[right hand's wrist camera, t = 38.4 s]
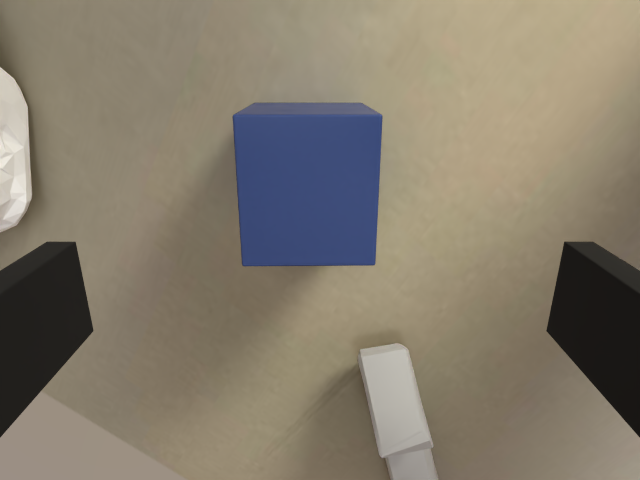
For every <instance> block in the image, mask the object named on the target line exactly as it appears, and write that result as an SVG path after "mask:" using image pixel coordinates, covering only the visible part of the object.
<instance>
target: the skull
mask: <svg viewBox="0 0 640 480" xmlns="http://www.w3.org/2000/svg"><path fill="white" fill-rule="evenodd" d="M31 198H32V185H31V170H30V149H29V126H28V106H27V104H26V101H25V99H24V97H23V94H22V92H21V89H20V88H19V86H18V84H17V83H16V81H15V79H14V78H13V77H11V76H10V75H9V74H8V73H7V72H6V71H4V70H3V69H2V68H1V67H0V232H3V231H5V230H7V229H9V228H12V227H14V226H16V225H17V224H18V223H19V221H20V220H21V218H22V217H23V216H24V214H25V213H26V211H27V209H28V207H29V204H30V201H31Z"/></svg>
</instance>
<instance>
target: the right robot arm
mask: <svg viewBox="0 0 640 480" xmlns="http://www.w3.org/2000/svg"><path fill="white" fill-rule="evenodd" d="M92 332H93V326H92V321H91V316H90V311H89V306H88V301H87V296H86V291H85V286H84V281H83V277H82V272H81V267H80V262H79V257H78V252H77V247H76V242H46V243H44V244H43V245H41V246H39V247H38V248H36V249H35V250H33V251H31V252H30V253H28V254H27V255H25V256H23V257H22V258H20V259H19V260H17V261H15V262H14V263H12V264H11V265H9V266H7V267H6V268H4V269H2V270H1V271H0V437H1V436H2V435H3V434H4V432H5V431H6V430H7V429H8V428H9V427H10V426H11V425H12V423H13V422H14V421H15V420H16V419H17V418H18V417H19V415H20V414H21V413H22V412H23V411H24V410H25V409H26V407H27V406H28V405H29V404H30V403H31V402H32V401H33V399H34V398H35V397H36V396H37V395H38V394H39V393H40V391H41V390H42V389H43V388H44V387H45V386H46V385H47V383H48V382H49V381H50V380H51V379H52V378H53V377H54V375H55V374H56V373H57V372H58V371H59V370H60V369H61V367H62V366H63V365H64V364H65V363H66V362H67V361H68V359H69V358H70V357H71V356H72V355H73V354H74V353H75V351H76V350H77V349H78V348H79V347H80V346H81V345H82V343H83V342H84V341H85V340H86V339H87V338H88V337H89V335H90V334H91V333H92ZM547 332H548V333H549V334H550V335H551V337H552V338H553V339H554V340H555V341H556V342H557V343H558V345H559V346H560V347H561V348H562V349H563V350H564V351H565V353H566V354H567V355H568V356H569V357H570V358H571V359H572V361H573V362H574V363H575V364H576V365H577V366H578V367H579V369H580V370H581V371H582V372H583V373H584V374H585V375H586V377H587V378H588V379H589V380H590V381H591V382H592V383H593V385H594V386H595V387H596V388H597V389H598V390H599V391H600V393H601V394H602V395H603V396H604V397H605V398H606V399H607V401H608V402H609V403H610V404H611V405H612V406H613V407H614V409H615V410H616V411H617V412H618V413H619V414H620V415H621V417H622V418H623V419H624V420H625V421H626V422H627V423H628V425H629V426H630V427H631V428H632V429H633V430H634V431H635V433H636V434H637V435H638V436H639V437H640V271H639V270H638V269H636V268H634V267H633V266H631V265H629V264H628V263H626V262H625V261H623V260H621V259H620V258H618V257H617V256H615V255H613V254H612V253H610V252H609V251H607V250H605V249H604V248H602V247H601V246H599V245H597V244H596V243H594V242H564V247H563V252H562V257H561V262H560V267H559V272H558V277H557V281H556V286H555V291H554V296H553V301H552V306H551V311H550V316H549V321H548V326H547Z"/></svg>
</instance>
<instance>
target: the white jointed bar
mask: <svg viewBox="0 0 640 480" xmlns="http://www.w3.org/2000/svg"><path fill="white" fill-rule="evenodd" d="M358 364H359V368H360V372H361V375H362V379H363V383H364V387H365V392H366V396H367V401H368V406H369V410H370V415H371V420H372V424H373V429H374V433H375V438H376V443H377V447H378V452H379V456H380V457H381V458H385V460H386V464H387V468H388V472H389V475H390V479H391V480H439V478H438V475H437V471H436V467H435V463H434V460H433V456H432V452H431V448H433V446H434V445H433V442H432V438H431V435H430V431H429V427H428V424H427V420H426V416H425V413H424V409H423V406H422V402H421V398H420V394H419V390H418V386H417V382H416V378H415V374H414V370H413V366H412V362H411V358H410V354H409V350H408V349H407V348H406V347H405V346H403V345H401V344H399V343H395V344H389V345H383V346H377V347H371V348H366V349H360V351H359V354H358Z"/></svg>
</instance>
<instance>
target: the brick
mask: <svg viewBox="0 0 640 480" xmlns="http://www.w3.org/2000/svg"><path fill="white" fill-rule="evenodd" d="M233 128H234V144H235V160H236V176H237V192H238V207H239V223H240V239H241V255H242V265H243V266H345V265H375V258H376V238H377V217H378V197H379V176H380V156H381V135H382V115H381V114H379V113H378V112H376V111H374V110H373V109H371V108H369V107H368V106H366V105H364V104H363V103H253V104H252V105H250V106H248V107H246V108H245V109H243V110H241V111H239V112H238V113H236V114H234V115H233Z"/></svg>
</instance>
